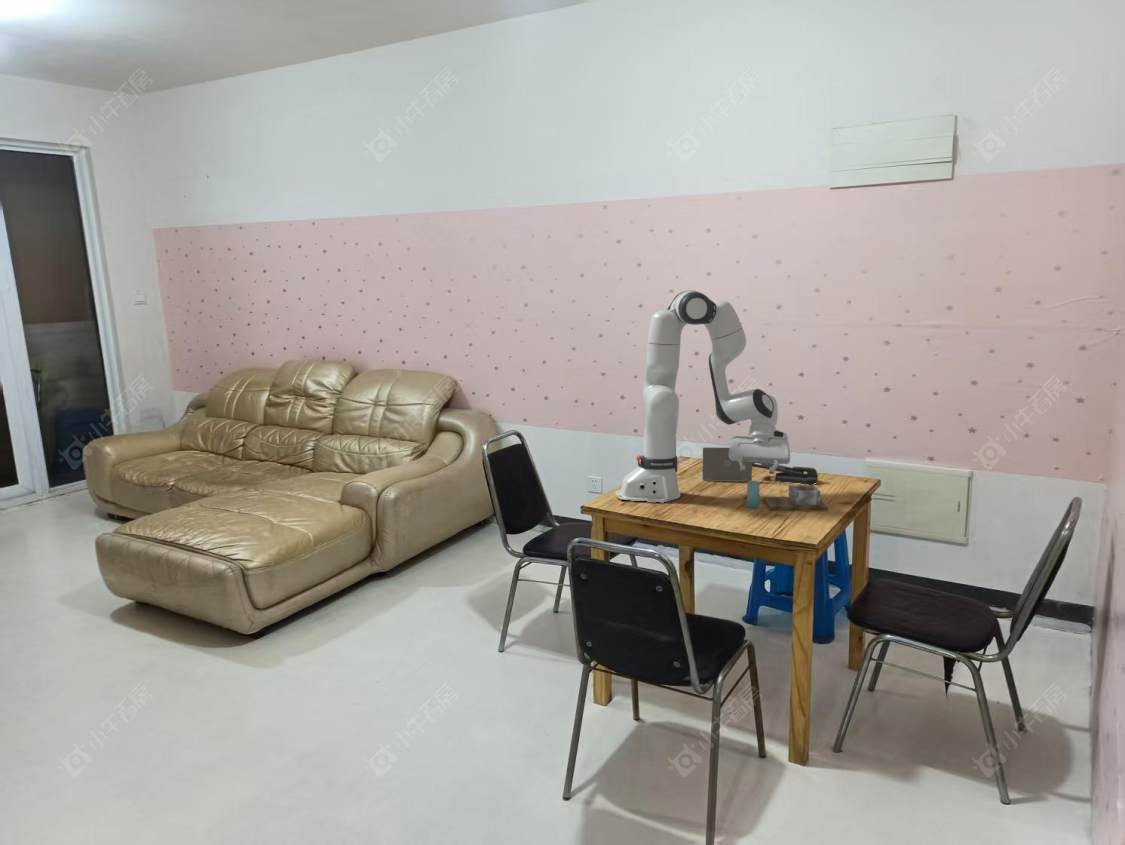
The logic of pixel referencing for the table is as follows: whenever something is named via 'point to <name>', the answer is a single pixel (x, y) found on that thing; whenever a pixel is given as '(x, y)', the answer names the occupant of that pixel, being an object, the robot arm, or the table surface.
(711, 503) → the table surface
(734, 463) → the laptop
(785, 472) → the black stapler
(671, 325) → the robot arm
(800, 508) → the walnut socket board
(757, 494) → the teal rounded oblong piece
